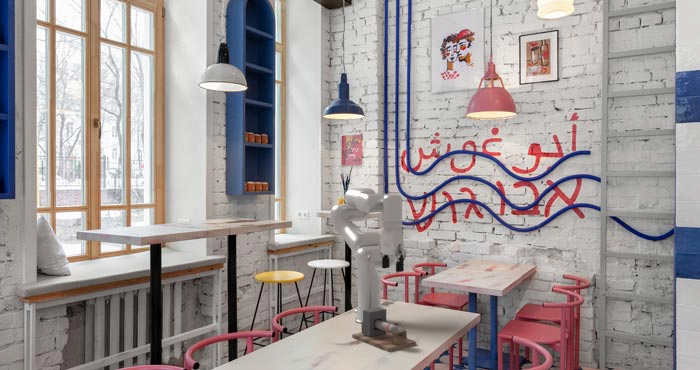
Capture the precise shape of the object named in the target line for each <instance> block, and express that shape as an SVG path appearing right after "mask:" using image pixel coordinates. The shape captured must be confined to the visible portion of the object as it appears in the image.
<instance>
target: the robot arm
mask: <svg viewBox="0 0 700 370" xmlns="http://www.w3.org/2000/svg"><path fill="white" fill-rule="evenodd" d="M343 196H344V201H345V203H341V204H336V205H334V206H333V207H332V208H331V210H330V220H331V224H332V226H333V228H334V229H335V231H336V232H337V233H338V234H339V235H340V236H341V238H343V239H344V242H346V244H347V245H348V247H349V248H350V250H351V251H352V252H353V253H354V254H355V256H354V257H355V264H356V270H357V271H356V272H357V306H358V307H357V308H356V309H355V310H354V313H356V316H355V317H354V321H355V323H358V324H361V325H362V321H363V310H368V309H373V308H379V307H380V308H382V307H381V277H380V275H379V274H378V273H377V271H376V269H389V268H390V267H392V266H393V265H395V272H396V273H401V272H404V268H405V266H404V265H405V264H404V262H405V260H406V258H407V256H406V255H407V252H408V251H407V249H405V246H404V245H405V244H404V234H403V198H402V196H401V195H400V194H391V193H376V192H375V190H374V189H372V188H366V187H365V188H364V187H363V188H360V187H358V188H350V189H348V190H346V192H345V194H344V195H343ZM372 213H376V214H377V213H382V230H381V233H379V232H377V231H369V232H367V231H362V230H361V229H360V227H359V226H358V225H357V224H356V223H353V222H363V221H366V219H367V218H368V217H369V215H370V214H372Z"/></svg>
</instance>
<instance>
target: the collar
mask: <svg viewBox="0 0 700 370" xmlns="http://www.w3.org/2000/svg"><path fill="white" fill-rule="evenodd" d="M380 307H381V306H380ZM380 307H379V308H373V309H368V310H363V335H366V336H368V337H372V336H377V335H381V334H385V333H387V332H386V331H383V330H380V329H378V328H375V327H374V320H375V319H377V320H380V321H383V322H386V323H387V309H386V308H383V307H381V308H380Z"/></svg>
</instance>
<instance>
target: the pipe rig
mask: <svg viewBox="0 0 700 370" xmlns="http://www.w3.org/2000/svg"><path fill="white" fill-rule="evenodd" d="M374 327H375V328H378V329H380V330H383V331H386V332H387V333H385V334H381V335H377V336H372V337H368V336H366V335H363V321H362V324H361V332H357V333H353V334H352V335H351V336H352V338H351V339H355V340H358V341H360V342H362V343H365V344H367V345H370V346H372V347H375V348H378V349H380V350H383V351H385V352H387V353H388V352H392V351H397V350H401V349H405V348H409V347H412V346H416V345H417V341H416V340H414V339H410V338H407V337H408V335H407V333H408V332H407V330H405V328H404V327H401V326H398V325H395V324H393V323H389V322H387V321H386V322H383V321H380V320H377V319H375V320H374Z"/></svg>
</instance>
